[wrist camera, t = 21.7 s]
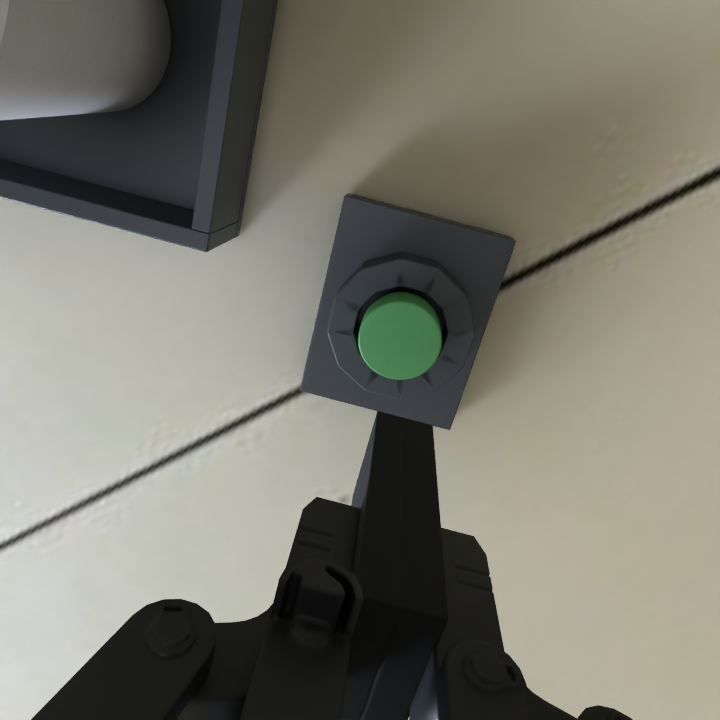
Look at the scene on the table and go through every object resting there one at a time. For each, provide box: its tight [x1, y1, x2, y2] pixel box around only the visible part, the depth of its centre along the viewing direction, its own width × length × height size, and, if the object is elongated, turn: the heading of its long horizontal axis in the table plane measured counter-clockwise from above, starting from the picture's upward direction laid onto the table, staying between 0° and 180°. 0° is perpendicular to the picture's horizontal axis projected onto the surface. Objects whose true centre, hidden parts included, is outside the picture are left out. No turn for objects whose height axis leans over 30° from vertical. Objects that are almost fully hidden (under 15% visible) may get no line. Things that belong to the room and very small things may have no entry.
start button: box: [358, 292, 442, 380], centre depth 25 cm, size 4×4×2 cm
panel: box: [300, 194, 516, 430], centre depth 27 cm, size 10×8×3 cm
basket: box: [0, 0, 278, 252], centre depth 23 cm, size 15×15×5 cm
